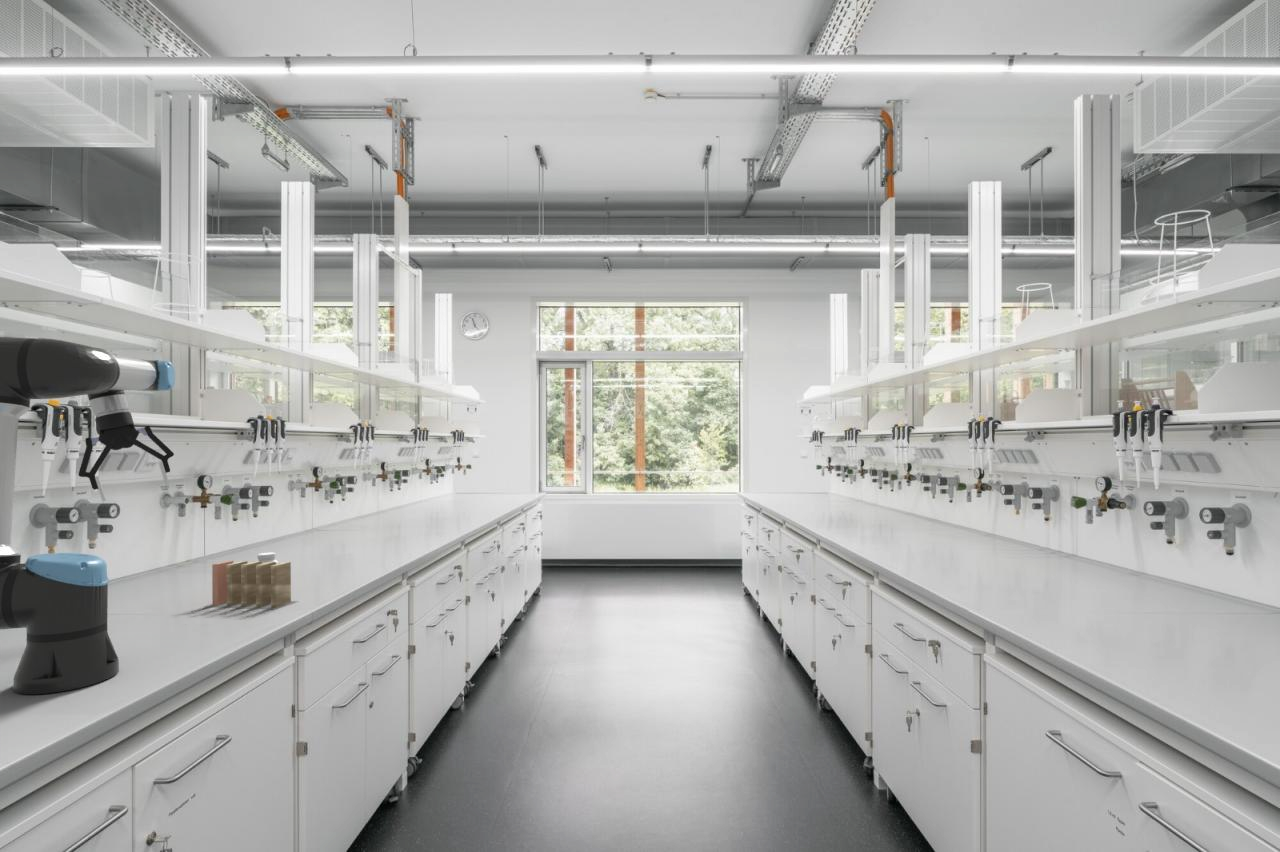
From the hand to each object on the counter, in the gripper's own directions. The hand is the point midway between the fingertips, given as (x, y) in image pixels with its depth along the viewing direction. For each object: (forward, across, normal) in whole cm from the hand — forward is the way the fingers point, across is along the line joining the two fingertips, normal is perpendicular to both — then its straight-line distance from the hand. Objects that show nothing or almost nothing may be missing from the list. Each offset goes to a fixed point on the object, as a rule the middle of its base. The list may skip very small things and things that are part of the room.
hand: (136, 493), depth 178 cm
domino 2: (+36, -14, +4) cm, 38 cm away
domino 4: (+37, -20, +10) cm, 43 cm away
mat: (+37, -17, +7) cm, 41 cm away
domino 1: (+35, -11, 0) cm, 36 cm away
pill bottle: (+38, -23, -10) cm, 45 cm away
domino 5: (+38, -23, +14) cm, 46 cm away
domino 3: (+36, -17, +7) cm, 41 cm away
